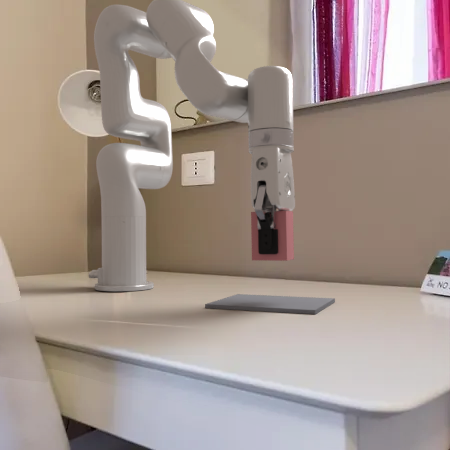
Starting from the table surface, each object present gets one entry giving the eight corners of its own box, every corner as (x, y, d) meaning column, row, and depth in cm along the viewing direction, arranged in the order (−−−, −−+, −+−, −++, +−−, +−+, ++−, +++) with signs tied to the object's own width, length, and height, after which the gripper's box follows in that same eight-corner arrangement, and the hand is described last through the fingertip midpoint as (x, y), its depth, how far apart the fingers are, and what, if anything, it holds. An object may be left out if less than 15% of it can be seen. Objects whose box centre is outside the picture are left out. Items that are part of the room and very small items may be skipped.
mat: (205, 307, 85) (205, 304, 85) (237, 297, 98) (237, 294, 98) (315, 314, 78) (315, 310, 78) (335, 301, 91) (334, 298, 91)
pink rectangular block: (286, 260, 85) (286, 210, 85) (251, 260, 87) (251, 211, 87) (293, 259, 88) (293, 211, 88) (260, 259, 91) (259, 212, 91)
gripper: (277, 133, 79) (279, 255, 78) (305, 148, 94) (307, 251, 94) (230, 137, 82) (232, 255, 81) (266, 152, 97) (267, 251, 97)
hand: (273, 252), depth 88 cm, fingers closed on pink rectangular block, 4 cm apart
